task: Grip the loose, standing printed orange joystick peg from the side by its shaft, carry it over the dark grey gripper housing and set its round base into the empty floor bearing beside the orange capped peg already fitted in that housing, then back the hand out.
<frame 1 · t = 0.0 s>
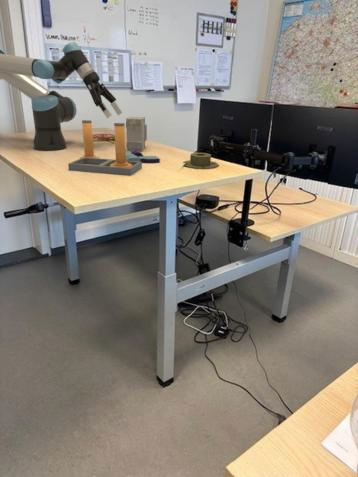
hand: (115, 115, 173), 15 cm above the table, tool tilted 35°, fingers open, 13 cm apart
circuit breaker: (137, 149, 177), on the table
flange: (200, 166, 149), on the table
orange capped peg: (121, 170, 132), point 1 cm above the table, touching housing
pistol: (139, 164, 149), on the table
orange joystick peg: (89, 162, 146), on the table
mechanical gear assembly: (106, 141, 197), on the table
housing: (106, 172, 133), on the table
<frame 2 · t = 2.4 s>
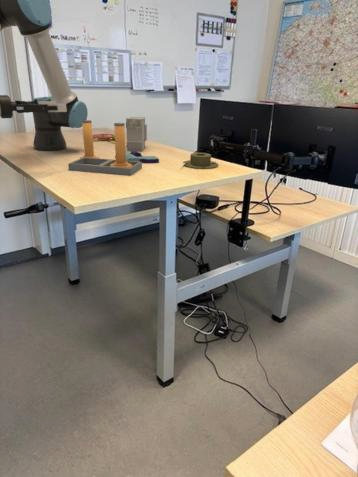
hand: (60, 106, 133), 22 cm above the table, tool horizontal, fingers open, 13 cm apart
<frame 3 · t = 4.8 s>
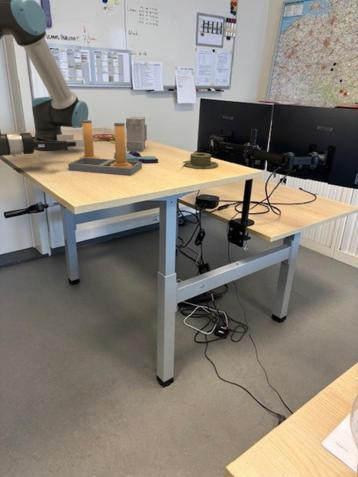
hand: (78, 140, 140), 9 cm above the table, tool horizontal, fingers open, 13 cm apart
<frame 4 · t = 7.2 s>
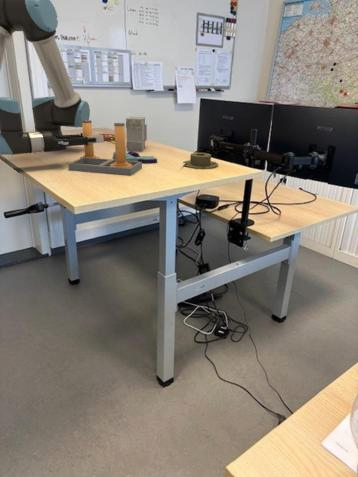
hand: (101, 138, 145), 10 cm above the table, tool horizontal, fingers closed on orange joystick peg, 4 cm apart
orange joystick peg: (90, 162, 146), on the table, touching gripper
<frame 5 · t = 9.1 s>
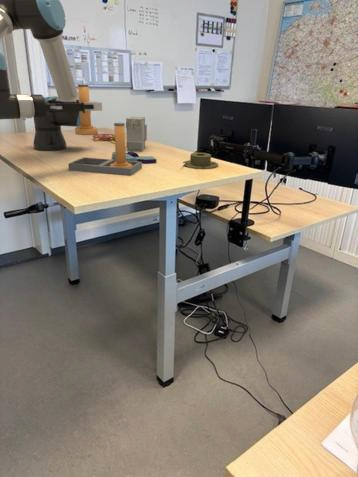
hand: (99, 106, 129), 23 cm above the table, tool horizontal, fingers closed on orange joystick peg, 4 cm apart
orange joystick peg: (86, 133, 131), point 13 cm above the table, touching gripper
when the fingers open (12 cm above the table, at t = 11.4 s): orange joystick peg drops 1 cm, resting on housing.
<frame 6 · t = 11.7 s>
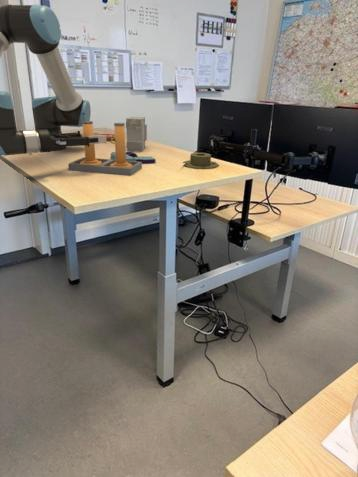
hand: (101, 137, 132), 12 cm above the table, tool horizontal, fingers open, 7 cm apart
orange joystick peg: (91, 167, 134), point 1 cm above the table, touching housing
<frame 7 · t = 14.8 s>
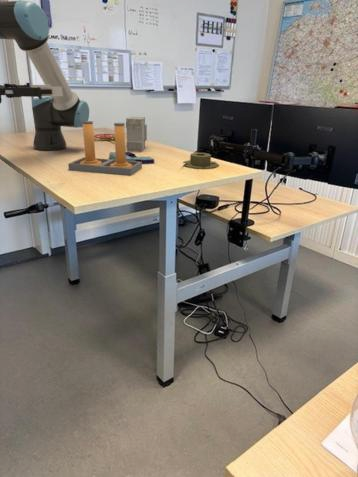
hand: (56, 90, 118), 28 cm above the table, tool horizontal, fingers open, 13 cm apart
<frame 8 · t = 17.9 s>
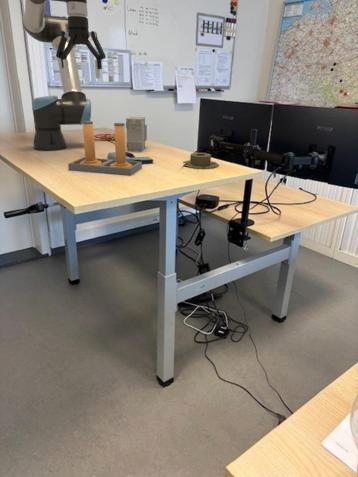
hand: (82, 78, 144), 32 cm above the table, tool pointing down, fingers open, 13 cm apart
at the end: orange joystick peg 0.1 cm from the target spot on the housing, point 1.2 cm above the housing's base; orange joystick peg tilted 0°; the gripper is holding nothing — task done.
